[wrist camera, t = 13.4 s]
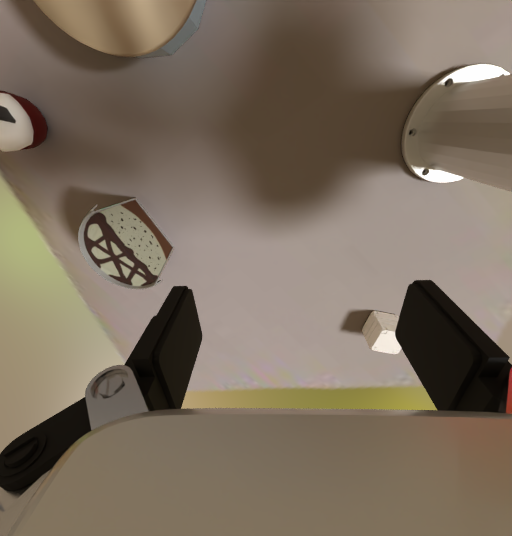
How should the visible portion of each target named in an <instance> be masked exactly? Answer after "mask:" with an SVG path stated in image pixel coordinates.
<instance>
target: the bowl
mask: <svg viewBox="0 0 512 536" xmlns="http://www.w3.org/2000/svg"><path fill="white" fill-rule="evenodd" d="M205 3H206V0H197V1H196V3H195V5H194V7H193V10H192V12H191V14H190V16H189V18H188V19H187V21H186V23H185V24H184V26H183V27H182V29H181V30H180V31H179V32H178V33H177V35H176V36H175V37H174V38H173V39H172V40H170V41H169V42H168V43H167V44H166V45H164V46H163V47H161V48H159V49H158V50H156V51H154V52H151V53H149V54H146V55H141V56H136V57H137V58H146V57H157V56H169V55H172V54H173V53H174V52H175V51H176V50H177V49H178V48H179V47H180V46H182V45H183V44H184V43H185V42H186V41H187V40H188V39H189V38H190V37H191V36H192V35H193V34H194V33H195V32H196V31H197V30H198V28H199V24H200V21H201V17H202V14H203V10H204V7H205Z"/></svg>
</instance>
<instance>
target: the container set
mask: <svg viewBox="0 0 512 536" xmlns="http://www.w3.org/2000/svg"><path fill="white" fill-rule="evenodd" d="M398 320H399V316H397V315H394V314H389V313H384V312H379V311H377V312H376V311H373V312H371V314H370V316H369V317H368V319H367V321H366V323H365V324H364V326H363V328H362V332H363V334H364V337H365V339H366V341H367V343H368V346H369V348H370V349H372V350H373V351H374V350H375V351H379V352H384V353H390V354H397V353H399V351H400V350H401V349H402V348H401V346H400V345H399V343H398V341H397V339H396V336H395V330H396V327H397V323H398Z"/></svg>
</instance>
